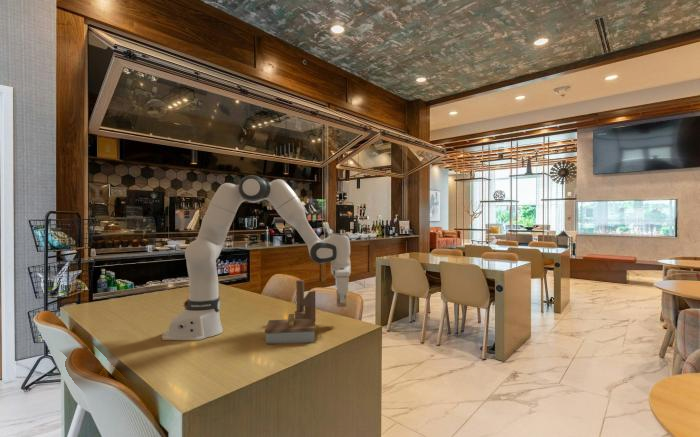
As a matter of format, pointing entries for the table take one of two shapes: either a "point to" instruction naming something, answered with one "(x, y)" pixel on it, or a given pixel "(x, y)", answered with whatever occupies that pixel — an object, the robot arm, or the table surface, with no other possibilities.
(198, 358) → the table surface
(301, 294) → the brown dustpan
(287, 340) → the grey shallow tray
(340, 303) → the beige block
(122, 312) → the table surface
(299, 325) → the lid
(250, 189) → the robot arm
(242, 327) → the table surface
